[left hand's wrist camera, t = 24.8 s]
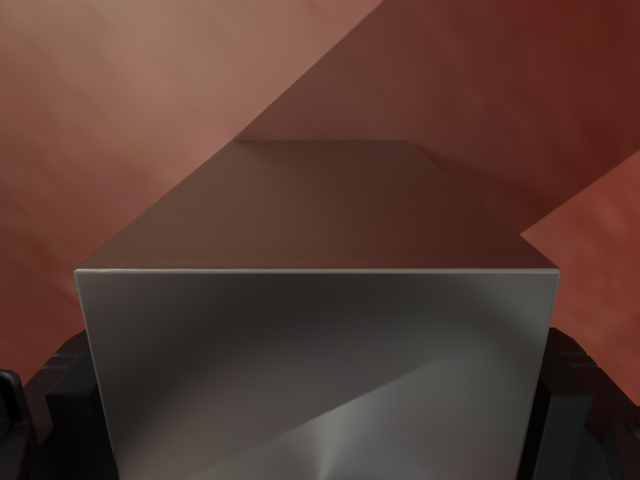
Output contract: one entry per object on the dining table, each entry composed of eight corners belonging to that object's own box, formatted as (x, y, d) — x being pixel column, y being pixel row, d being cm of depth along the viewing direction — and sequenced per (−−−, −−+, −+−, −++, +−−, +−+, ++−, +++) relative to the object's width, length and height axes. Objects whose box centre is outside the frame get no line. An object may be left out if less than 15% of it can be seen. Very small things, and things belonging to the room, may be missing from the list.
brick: (407, 140, 17) (563, 268, 6) (394, 324, 20) (485, 634, 9) (230, 140, 17) (70, 269, 6) (243, 324, 20) (150, 634, 9)
